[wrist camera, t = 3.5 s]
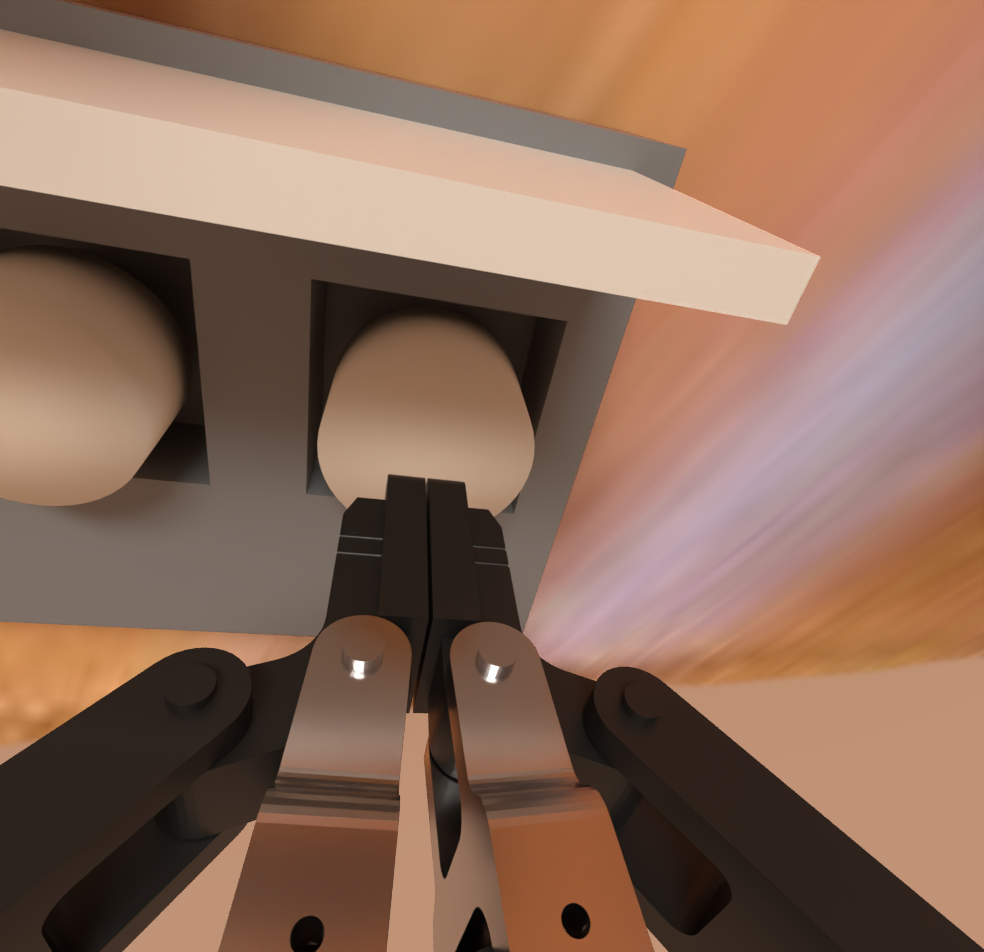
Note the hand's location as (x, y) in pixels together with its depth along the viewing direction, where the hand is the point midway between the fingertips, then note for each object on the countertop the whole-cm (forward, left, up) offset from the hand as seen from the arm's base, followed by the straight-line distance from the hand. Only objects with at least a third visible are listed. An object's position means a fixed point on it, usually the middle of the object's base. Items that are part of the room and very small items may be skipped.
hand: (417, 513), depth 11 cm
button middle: (+8, 0, -5) cm, 10 cm away
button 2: (0, 0, -5) cm, 5 cm away
